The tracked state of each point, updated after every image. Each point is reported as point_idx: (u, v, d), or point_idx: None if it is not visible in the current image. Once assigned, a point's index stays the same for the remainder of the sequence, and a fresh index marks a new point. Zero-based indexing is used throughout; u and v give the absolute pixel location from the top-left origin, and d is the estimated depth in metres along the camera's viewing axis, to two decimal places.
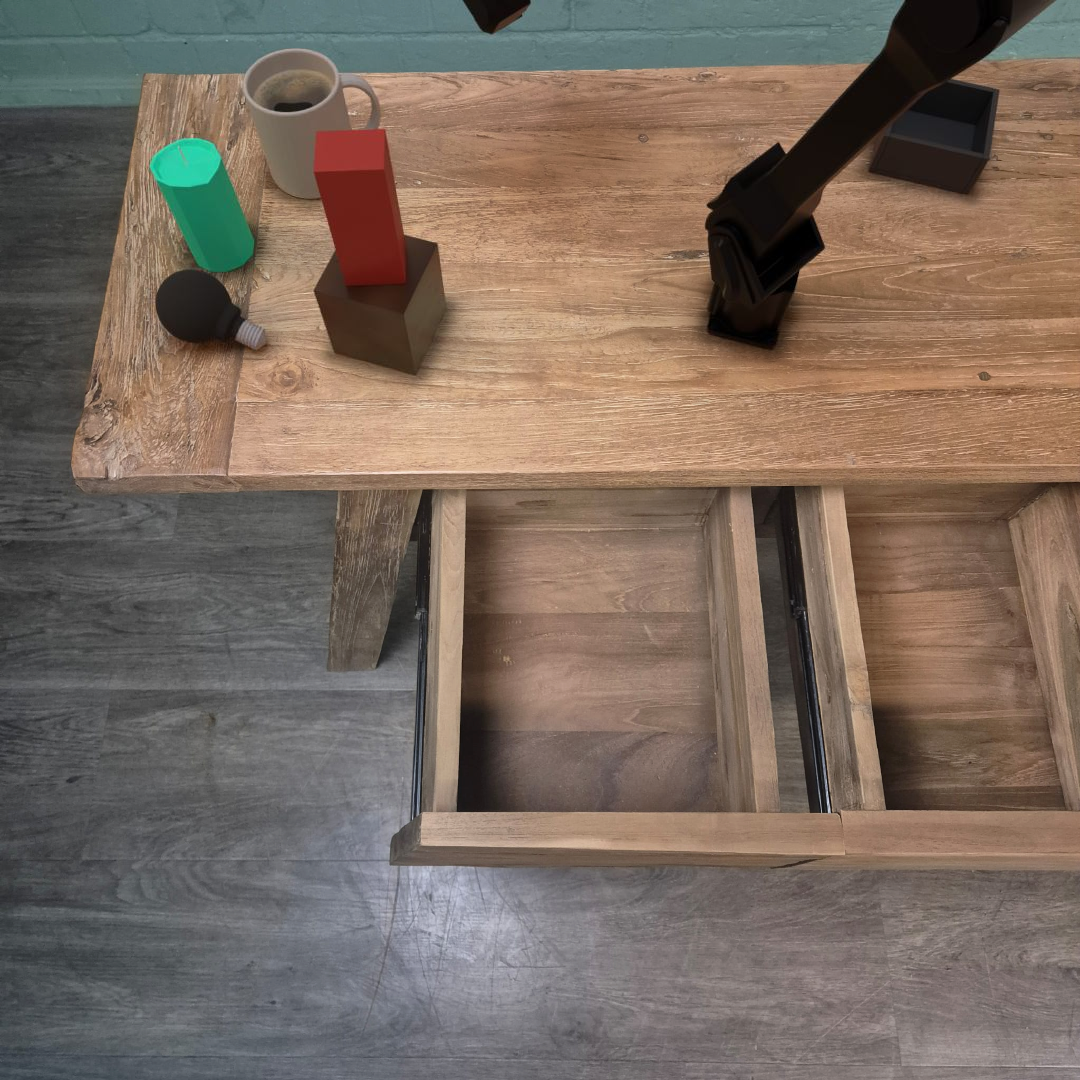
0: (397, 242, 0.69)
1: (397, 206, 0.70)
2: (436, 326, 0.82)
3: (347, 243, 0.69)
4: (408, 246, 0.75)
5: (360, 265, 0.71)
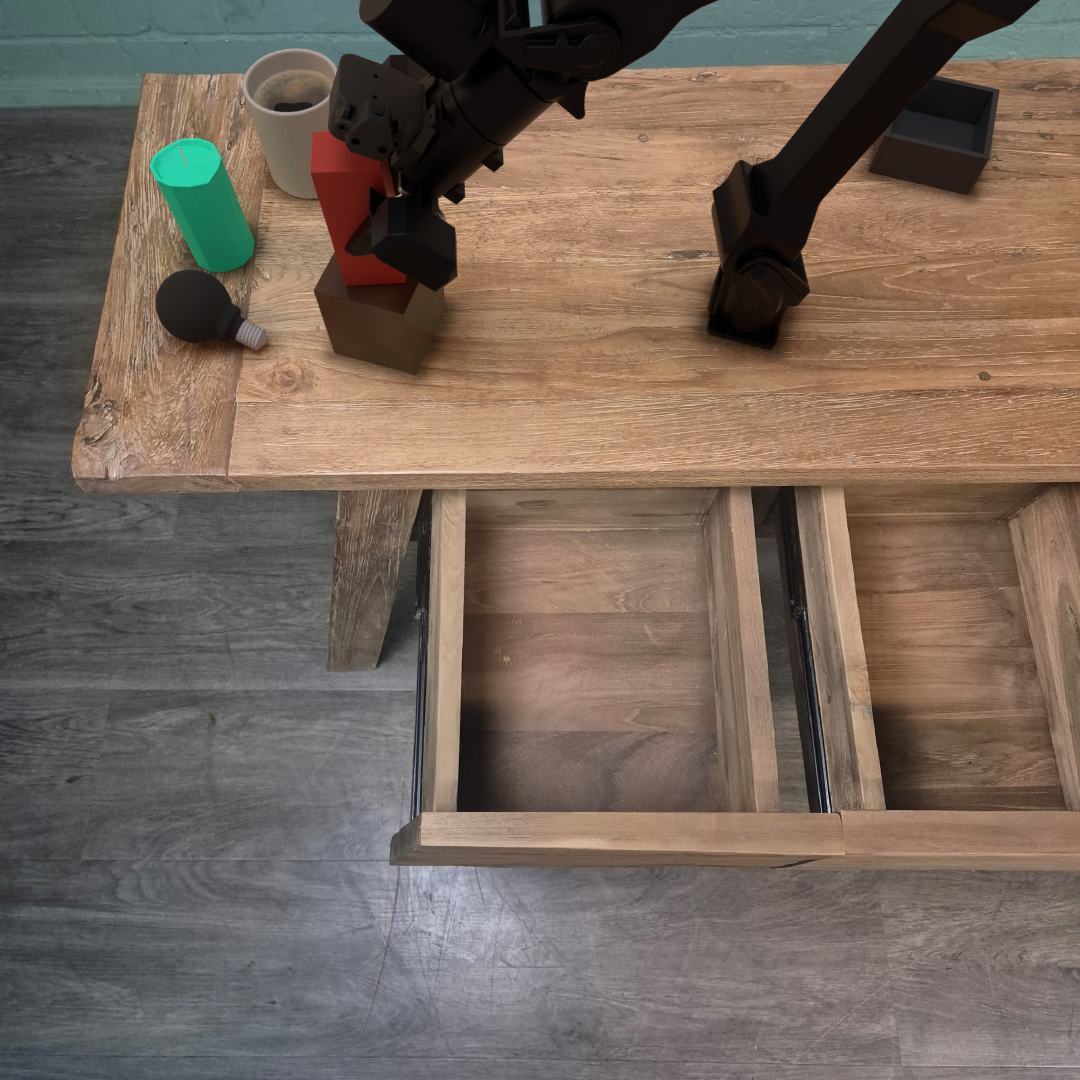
0: None
1: None
2: (436, 326, 0.82)
3: (345, 244, 0.69)
4: None
5: (359, 265, 0.71)
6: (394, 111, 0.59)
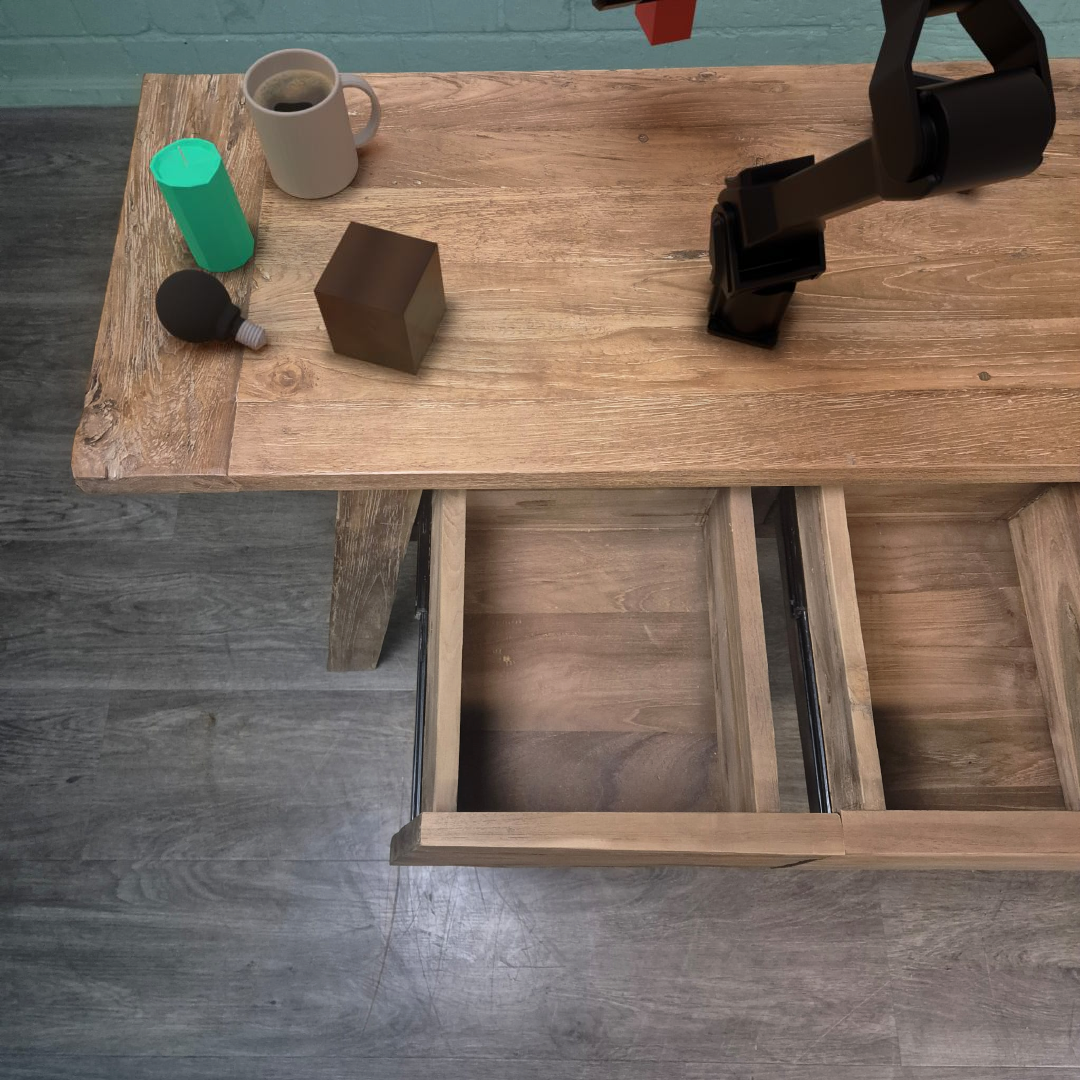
0: None
1: None
2: (436, 326, 0.82)
3: None
4: (408, 246, 0.75)
5: None
6: None
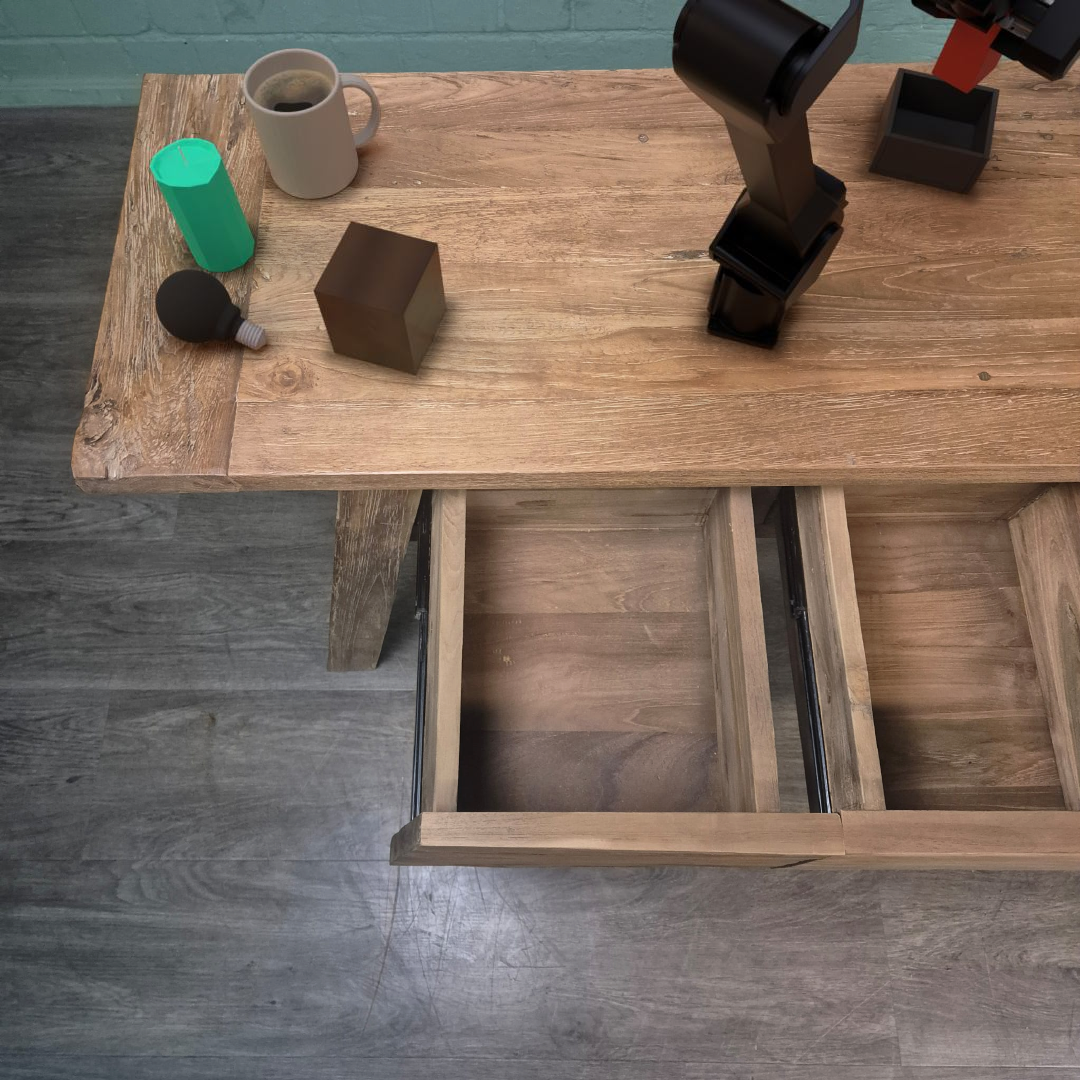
0: (953, 25, 0.79)
1: None
2: (436, 326, 0.82)
3: None
4: (408, 246, 0.75)
5: None
6: None
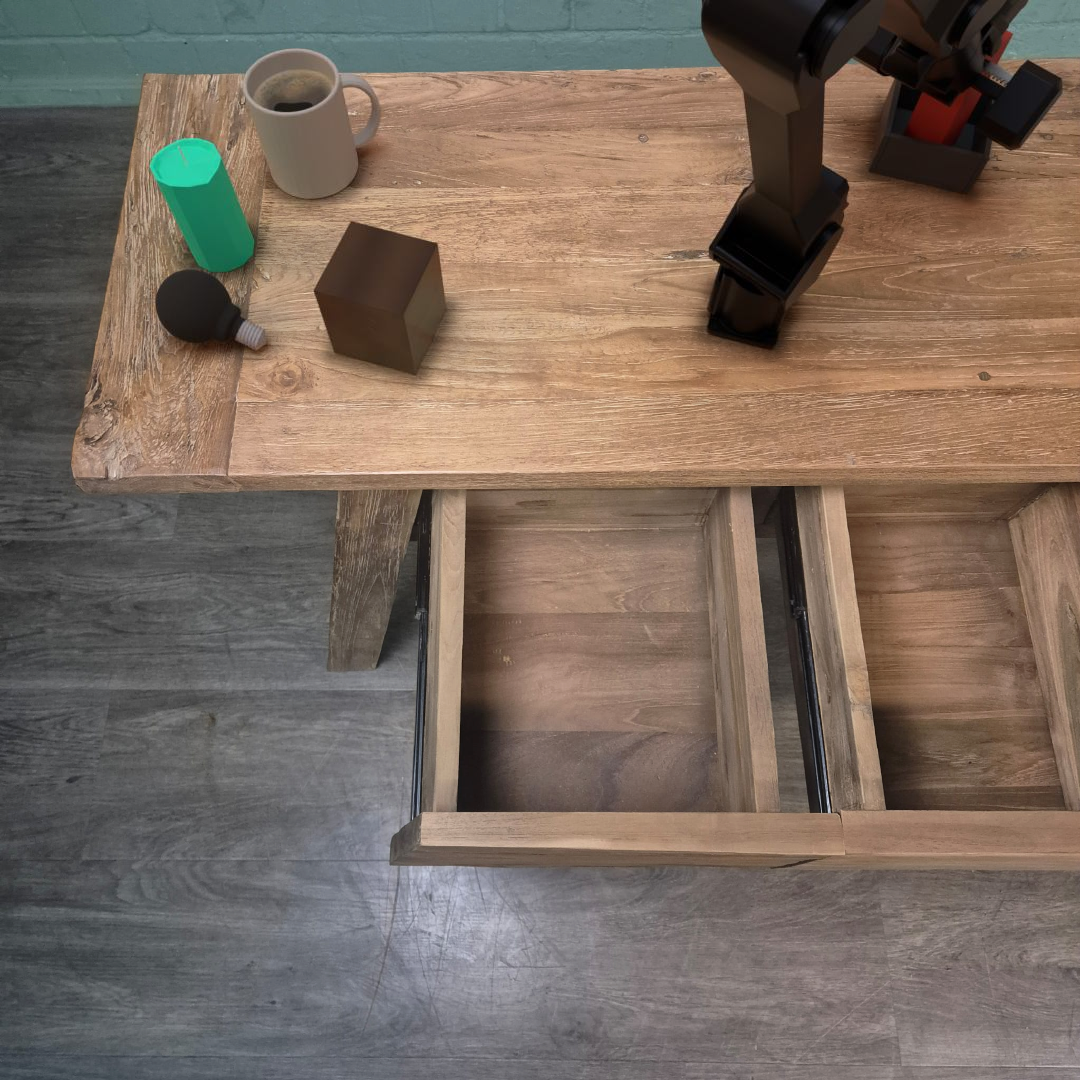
0: (915, 107, 0.87)
1: (944, 116, 0.86)
2: (436, 326, 0.82)
3: None
4: (408, 246, 0.75)
5: None
6: None
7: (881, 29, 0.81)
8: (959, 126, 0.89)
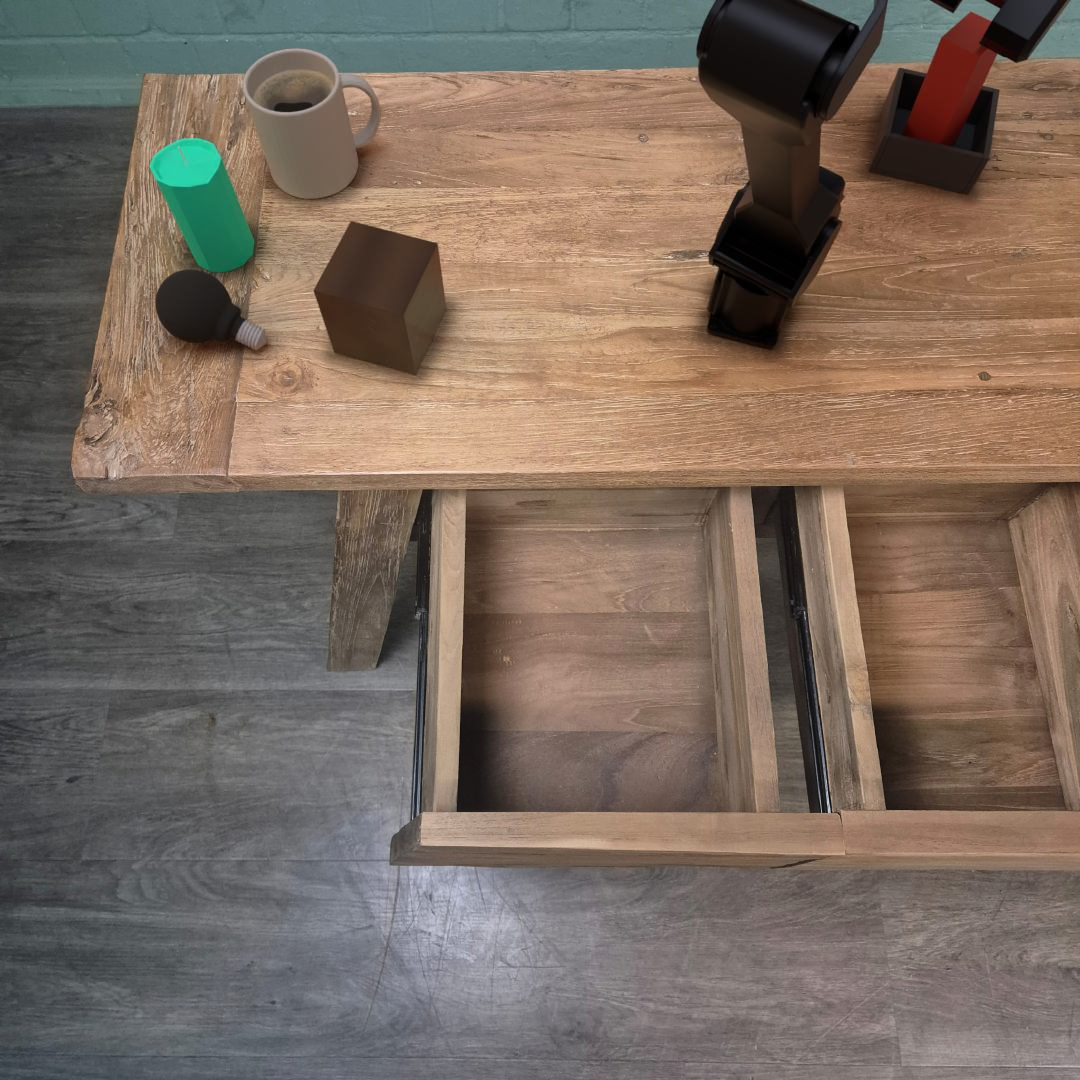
0: None
1: (942, 114, 0.86)
2: (436, 326, 0.82)
3: None
4: (408, 246, 0.75)
5: None
6: None
7: None
8: (959, 124, 0.88)
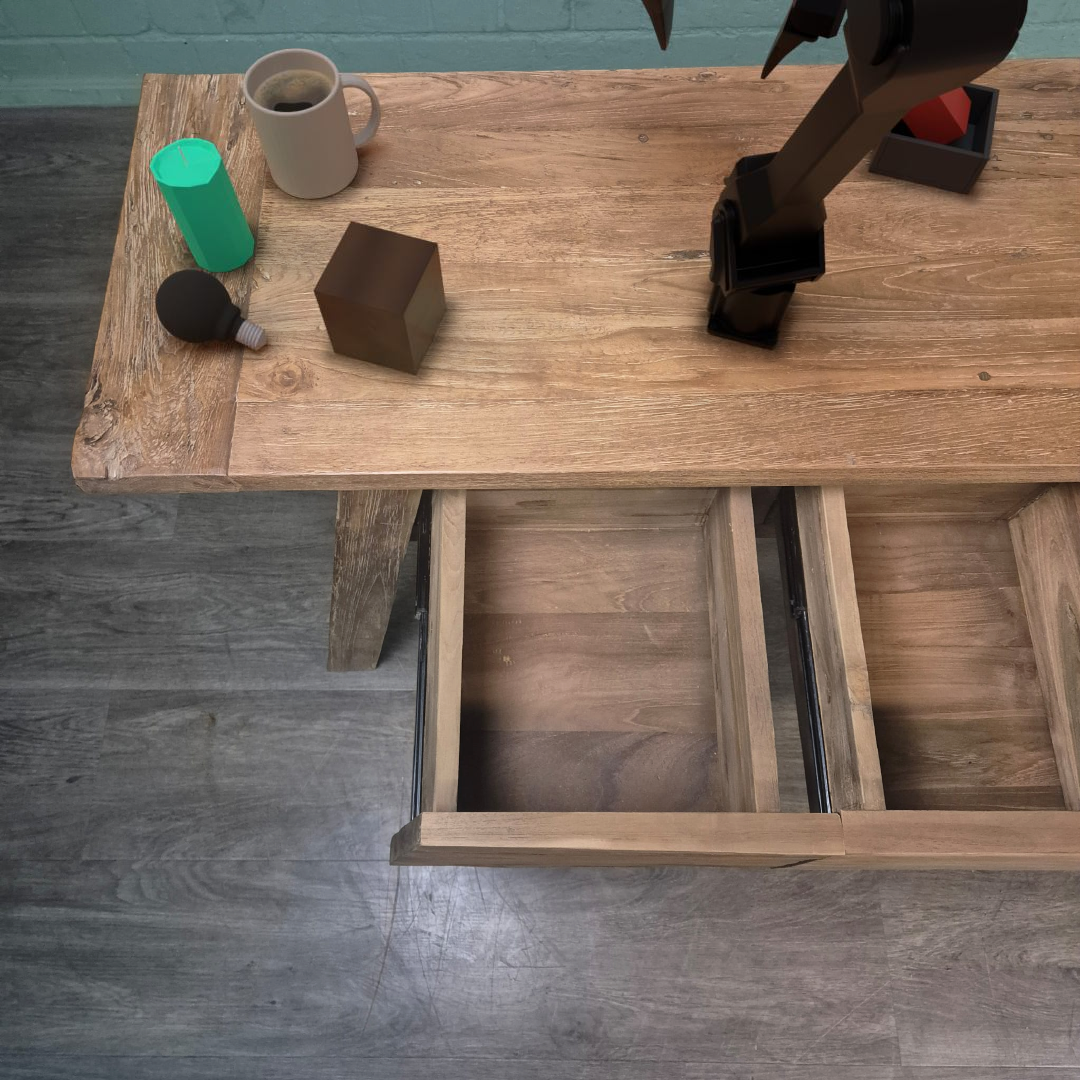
0: (903, 119, 0.89)
1: None
2: (436, 326, 0.82)
3: None
4: (408, 246, 0.75)
5: None
6: None
7: None
8: (954, 91, 0.88)
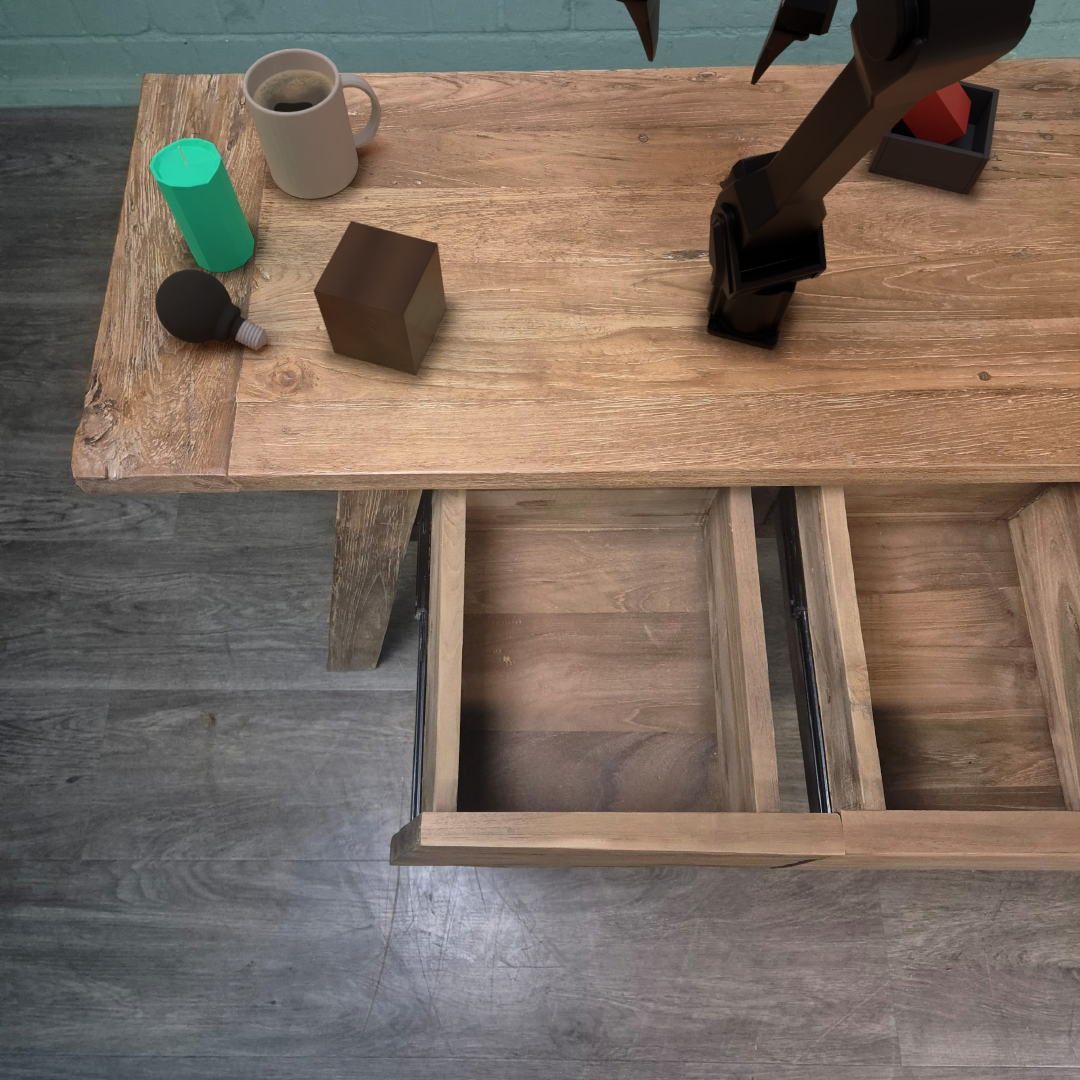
0: (903, 119, 0.89)
1: (928, 99, 0.86)
2: (436, 326, 0.82)
3: None
4: (408, 246, 0.75)
5: None
6: None
7: None
8: (954, 91, 0.88)
